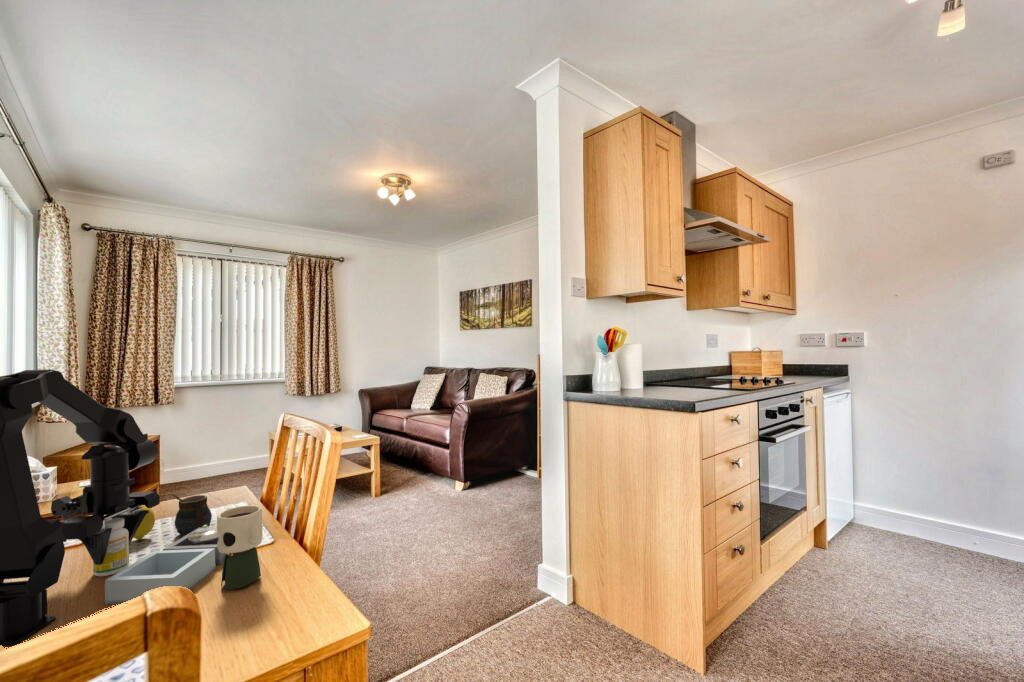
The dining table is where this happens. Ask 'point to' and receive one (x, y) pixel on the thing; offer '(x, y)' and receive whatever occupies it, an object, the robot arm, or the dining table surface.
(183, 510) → the mate gourd
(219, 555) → the grey square tray
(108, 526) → the supplement bottle
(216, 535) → the disc
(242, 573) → the character mug
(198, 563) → the bin
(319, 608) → the dining table surface
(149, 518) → the lemon
